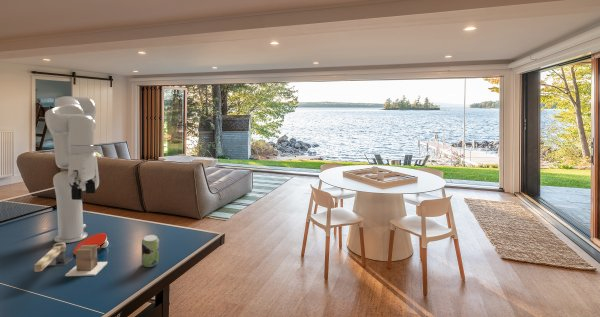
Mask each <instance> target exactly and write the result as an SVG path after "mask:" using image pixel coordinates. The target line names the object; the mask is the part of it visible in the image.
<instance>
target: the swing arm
mask: <svg viewBox="0 0 600 317" xmlns="http://www.w3.org/2000/svg"><path fill="white" fill-rule="evenodd" d="M66 250H67V244H66V243H58V242H56V243H54V244H53V245H52V248H51V249H50V250H49V251H48V252H47V253H46V254H44V256H42V257H41V258H40V259H39V260H37V262H36V263H35V264H34V265H33V267H34V272H35V273H36V272H37V273H38V272H42V271H43V270H45V269H46V268H47V265H48V264H49V263H51V262H52V261H54V260H55V259H56V262H62V261H64V260H65V251H66Z"/></svg>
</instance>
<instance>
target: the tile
mask: <svg viewBox="0 0 600 317" xmlns="http://www.w3.org/2000/svg"><path fill="white" fill-rule="evenodd" d="M97 262H98V265H97V266H96V267H95V268H94V269H93V270H92V271H77V269H76V265H75V266H74V267H72V269H69V271H68V272H67V273H65V275H64V276H65V277H83V276H84V277H85V276H87V277H88V276H96V275H97V274H99V272H100V271H101V270H102V269H104V268H105V267H106V266H107V264H108V261H97Z"/></svg>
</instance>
